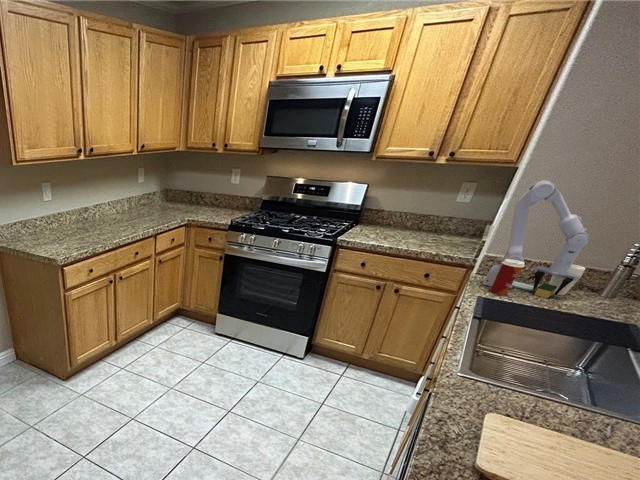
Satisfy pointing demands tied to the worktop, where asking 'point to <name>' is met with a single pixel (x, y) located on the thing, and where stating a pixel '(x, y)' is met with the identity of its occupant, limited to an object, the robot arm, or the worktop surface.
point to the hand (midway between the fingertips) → (544, 291)
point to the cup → (558, 280)
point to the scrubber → (545, 290)
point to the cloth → (522, 286)
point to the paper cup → (506, 276)
